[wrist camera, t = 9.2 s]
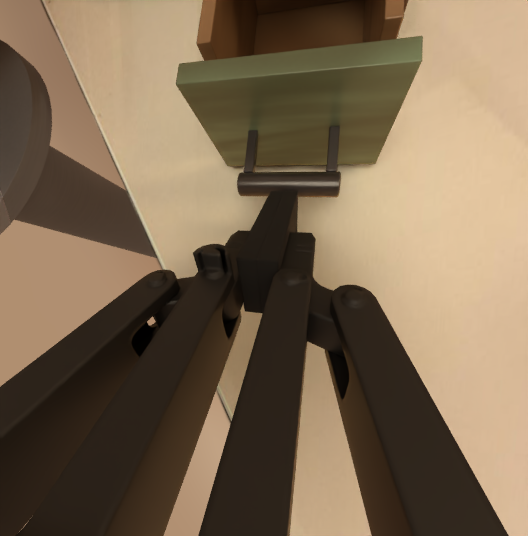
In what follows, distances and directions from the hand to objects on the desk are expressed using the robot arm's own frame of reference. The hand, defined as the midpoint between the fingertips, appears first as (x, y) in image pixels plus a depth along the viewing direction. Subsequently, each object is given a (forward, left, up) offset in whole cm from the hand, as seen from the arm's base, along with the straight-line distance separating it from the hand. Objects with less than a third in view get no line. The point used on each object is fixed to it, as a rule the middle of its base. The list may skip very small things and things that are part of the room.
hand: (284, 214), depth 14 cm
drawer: (-8, +6, -4) cm, 11 cm away
